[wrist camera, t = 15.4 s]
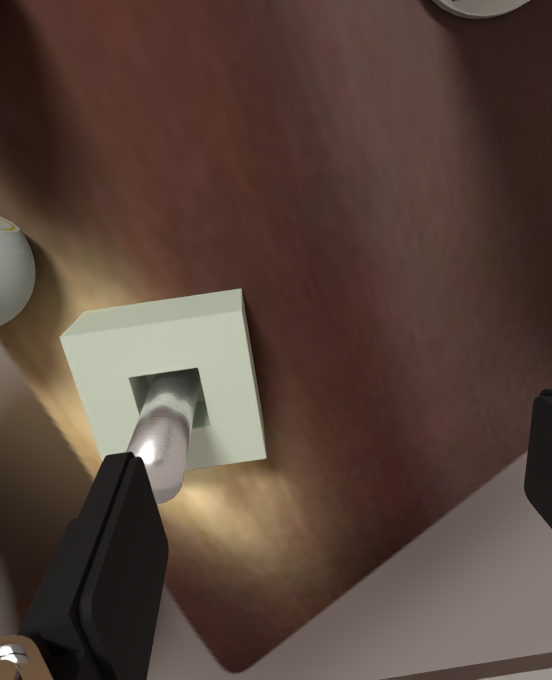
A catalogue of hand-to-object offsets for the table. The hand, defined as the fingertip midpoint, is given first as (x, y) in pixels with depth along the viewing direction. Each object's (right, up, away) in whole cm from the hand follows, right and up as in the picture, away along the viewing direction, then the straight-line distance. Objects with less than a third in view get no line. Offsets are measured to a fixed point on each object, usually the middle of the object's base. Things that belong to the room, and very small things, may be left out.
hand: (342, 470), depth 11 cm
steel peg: (-11, 0, +31) cm, 32 cm away
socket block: (-11, 0, +32) cm, 34 cm away
